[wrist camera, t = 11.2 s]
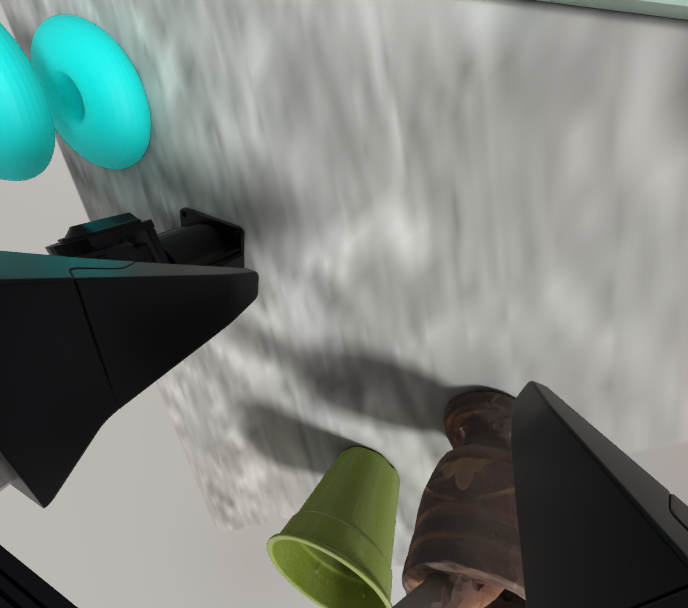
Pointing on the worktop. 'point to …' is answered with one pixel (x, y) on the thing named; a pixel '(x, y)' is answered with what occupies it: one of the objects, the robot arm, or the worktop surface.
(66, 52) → the donuts
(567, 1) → the tray
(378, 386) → the worktop surface
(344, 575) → the plant pot
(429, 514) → the mortar and pestle
